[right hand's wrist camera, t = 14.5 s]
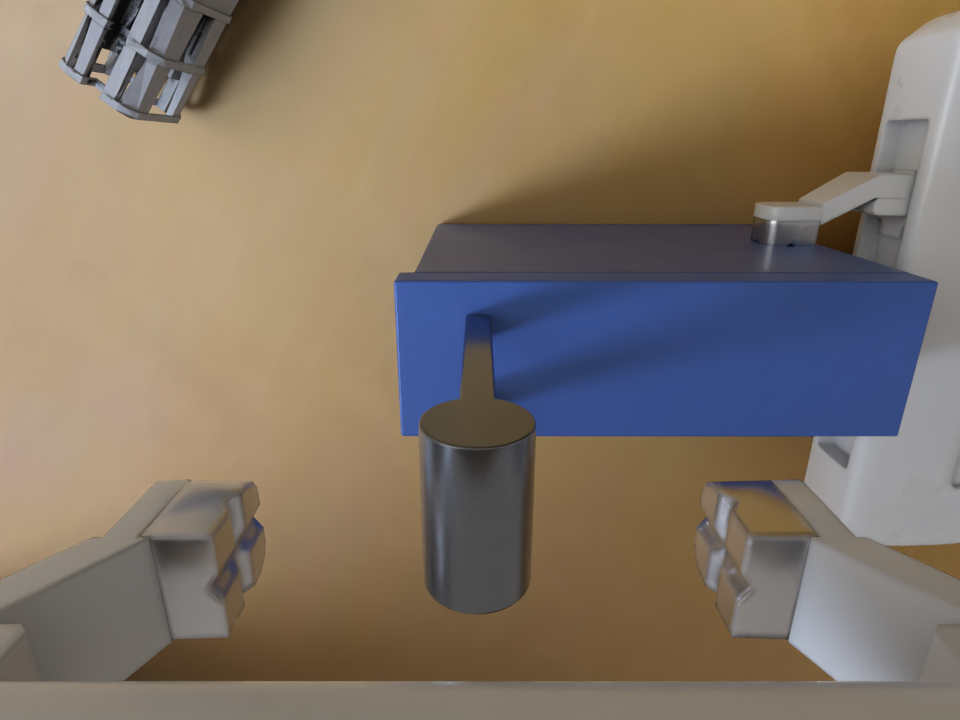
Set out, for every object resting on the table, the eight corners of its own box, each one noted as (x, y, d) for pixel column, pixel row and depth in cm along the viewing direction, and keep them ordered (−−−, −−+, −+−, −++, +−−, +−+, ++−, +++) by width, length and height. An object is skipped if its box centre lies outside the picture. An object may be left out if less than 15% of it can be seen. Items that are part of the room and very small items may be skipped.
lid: (405, 419, 19) (344, 650, 11) (398, 272, 18) (320, 401, 9) (874, 420, 19) (1198, 651, 11) (911, 272, 18) (1330, 402, 9)
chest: (439, 323, 29) (419, 419, 19) (437, 223, 28) (414, 271, 18) (738, 323, 29) (873, 420, 19) (753, 224, 28) (910, 272, 18)
